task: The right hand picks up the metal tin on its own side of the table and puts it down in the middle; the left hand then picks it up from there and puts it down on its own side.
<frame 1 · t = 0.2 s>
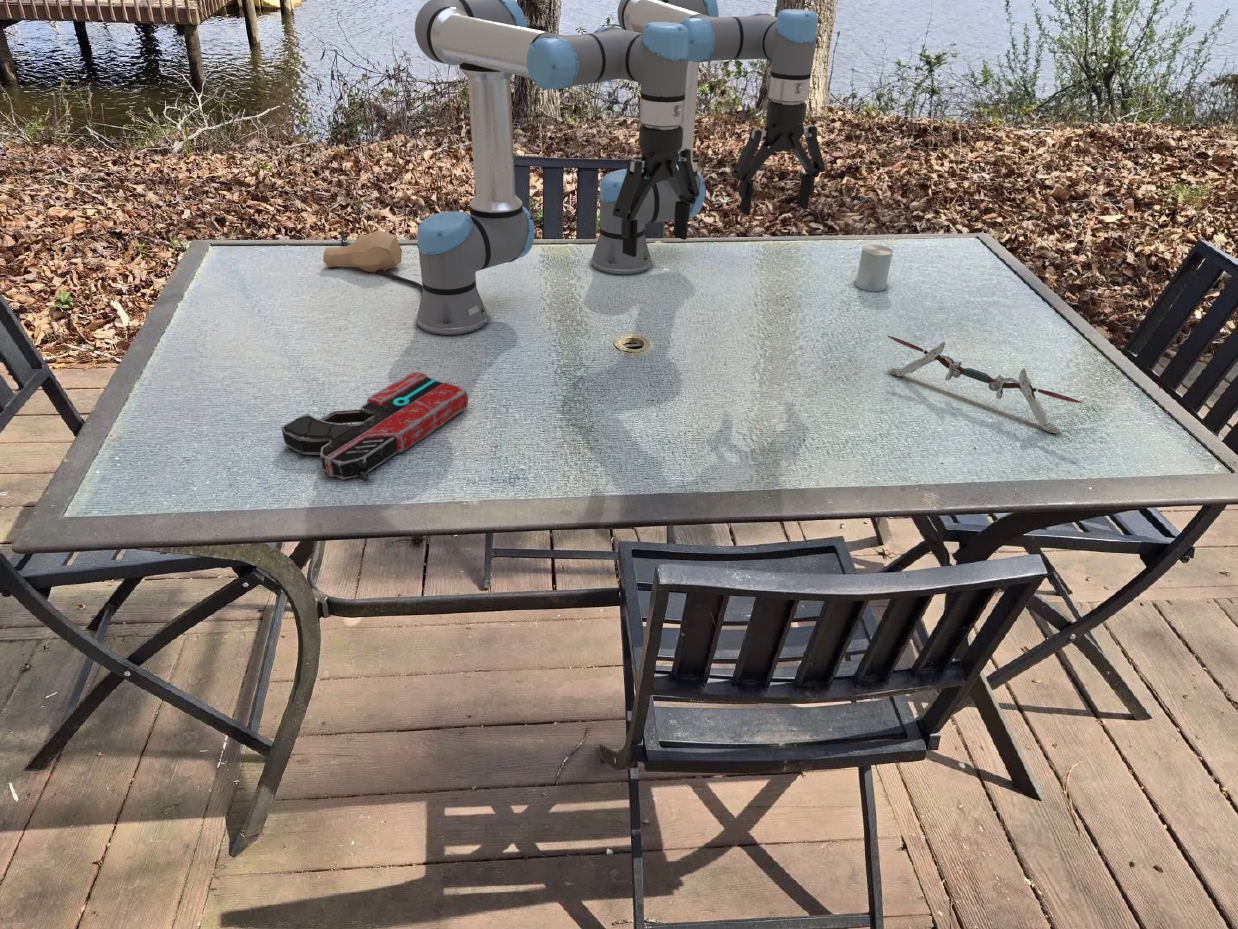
left hand: (655, 245, 161), 28 cm above the table, tool pointing down, fingers open, 13 cm apart
right hand: (774, 210, 180), 28 cm above the table, tool pointing down, fingers open, 13 cm apart
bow: (969, 401, 172), on the table
squash: (364, 267, 222), on the table
tin: (870, 285, 221), on the table
gun: (379, 430, 158), on the table
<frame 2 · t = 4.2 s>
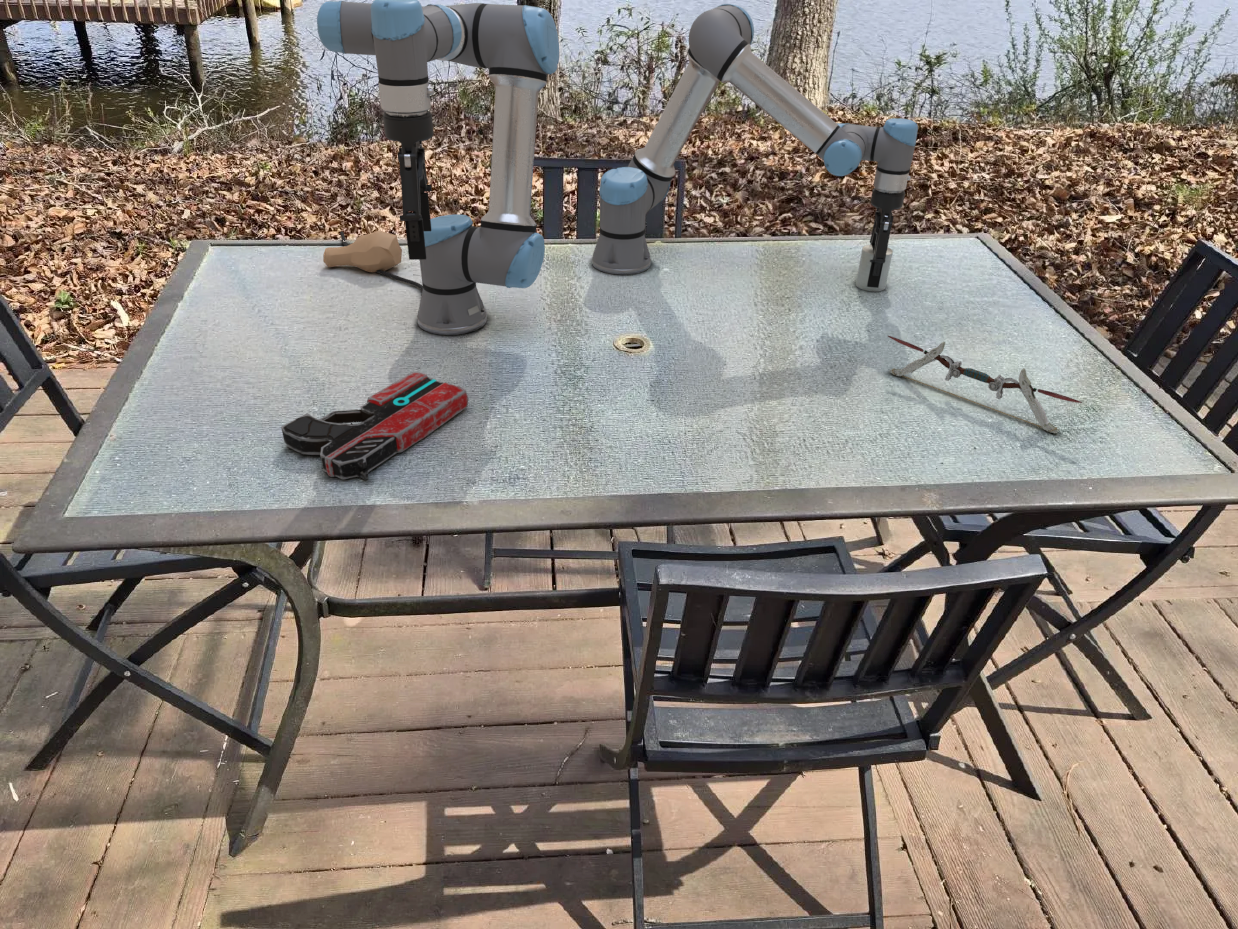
left hand: (420, 244, 148), 32 cm above the table, tool pointing down, fingers open, 13 cm apart
right hand: (871, 280, 220), 1 cm above the table, tool pointing down, fingers closed on tin, 7 cm apart
tin: (870, 285, 221), on the table, touching right hand
everything else where it was.
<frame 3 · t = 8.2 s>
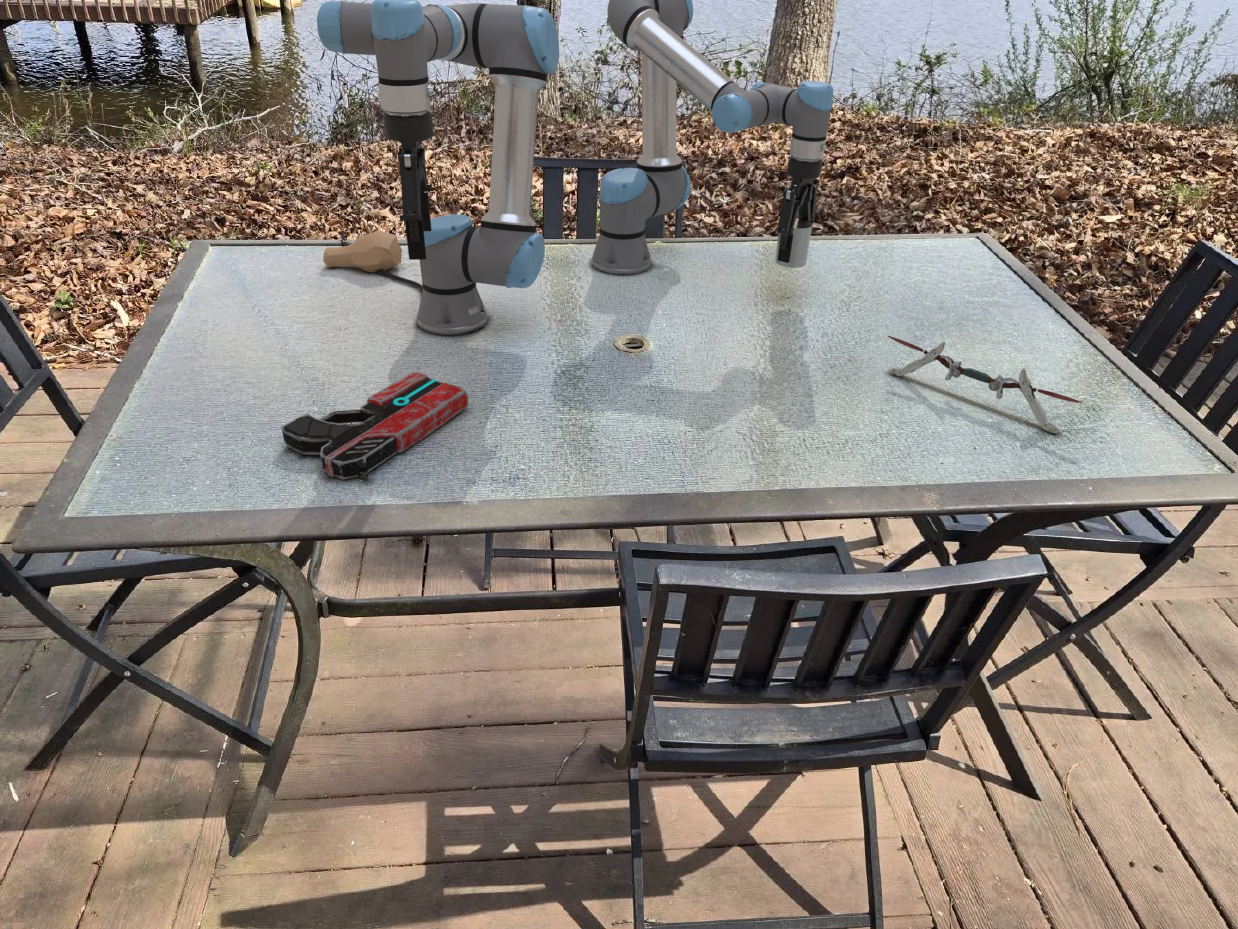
left hand: (420, 244, 148), 32 cm above the table, tool pointing down, fingers open, 13 cm apart
right hand: (791, 256, 207), 11 cm above the table, tool pointing down, fingers closed on tin, 7 cm apart
tin: (790, 261, 208), point 9 cm above the table, touching right hand
everything else where it was.
when the right hand's fingers open (3 cm above the table, at t = 12.3 s): tin drops 2 cm, on the table.
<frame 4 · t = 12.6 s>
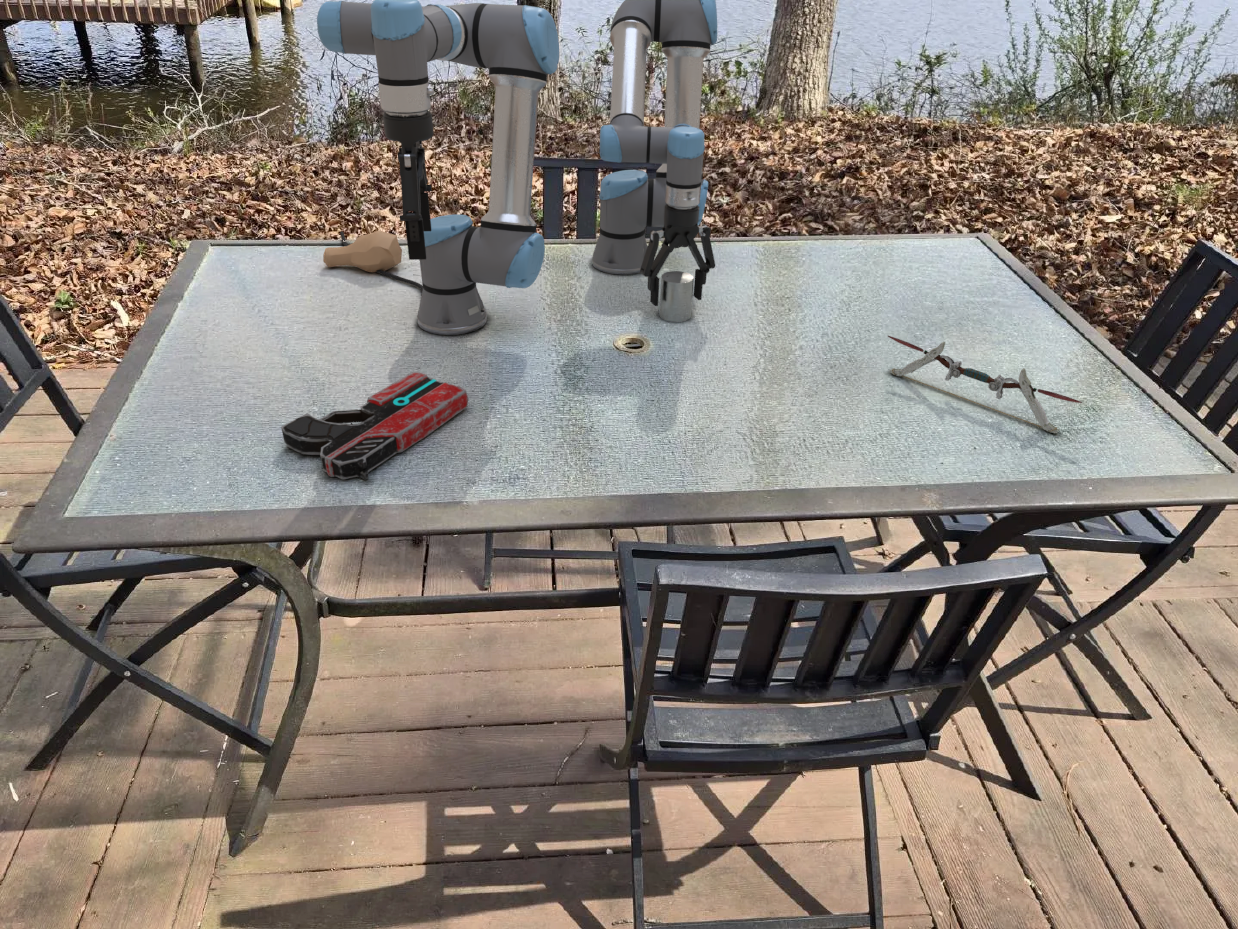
left hand: (420, 244, 148), 32 cm above the table, tool pointing down, fingers open, 13 cm apart
right hand: (675, 300, 201), 4 cm above the table, tool pointing down, fingers open, 10 cm apart
tin: (675, 315, 203), on the table
everything else where it was.
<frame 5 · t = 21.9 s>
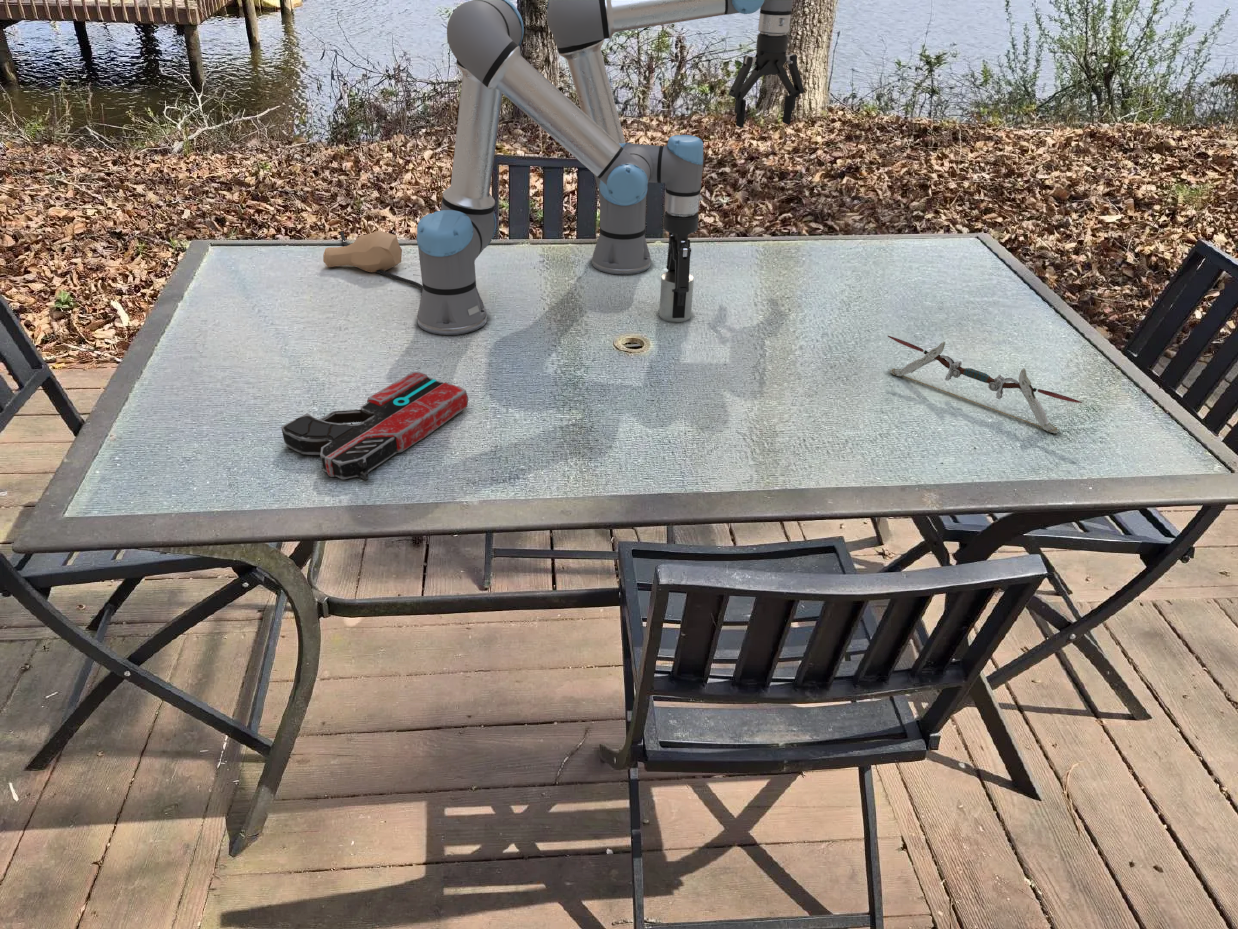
left hand: (675, 309, 202), 1 cm above the table, tool pointing down, fingers closed on tin, 7 cm apart
right hand: (763, 124, 224), 32 cm above the table, tool pointing down, fingers open, 13 cm apart
tin: (675, 315, 203), on the table, touching left hand
everything else where it was.
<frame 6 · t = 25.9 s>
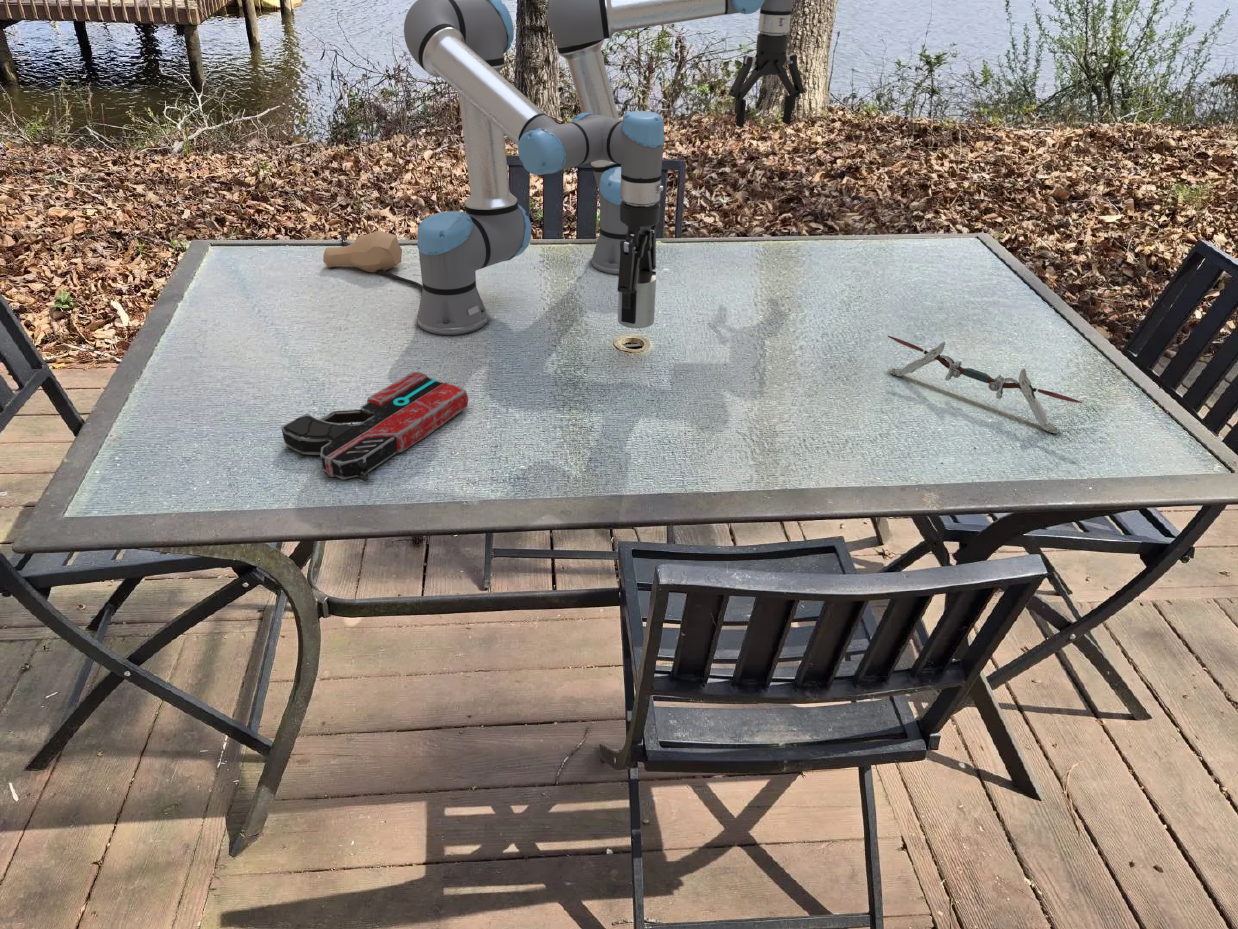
left hand: (635, 314, 176), 11 cm above the table, tool pointing down, fingers closed on tin, 7 cm apart
right hand: (763, 124, 224), 32 cm above the table, tool pointing down, fingers open, 13 cm apart
tin: (635, 320, 177), point 10 cm above the table, touching left hand
everything else where it was.
when the left hand's fingers open (3 cm above the table, at t = 30.4 s): tin drops 1 cm, on the table.
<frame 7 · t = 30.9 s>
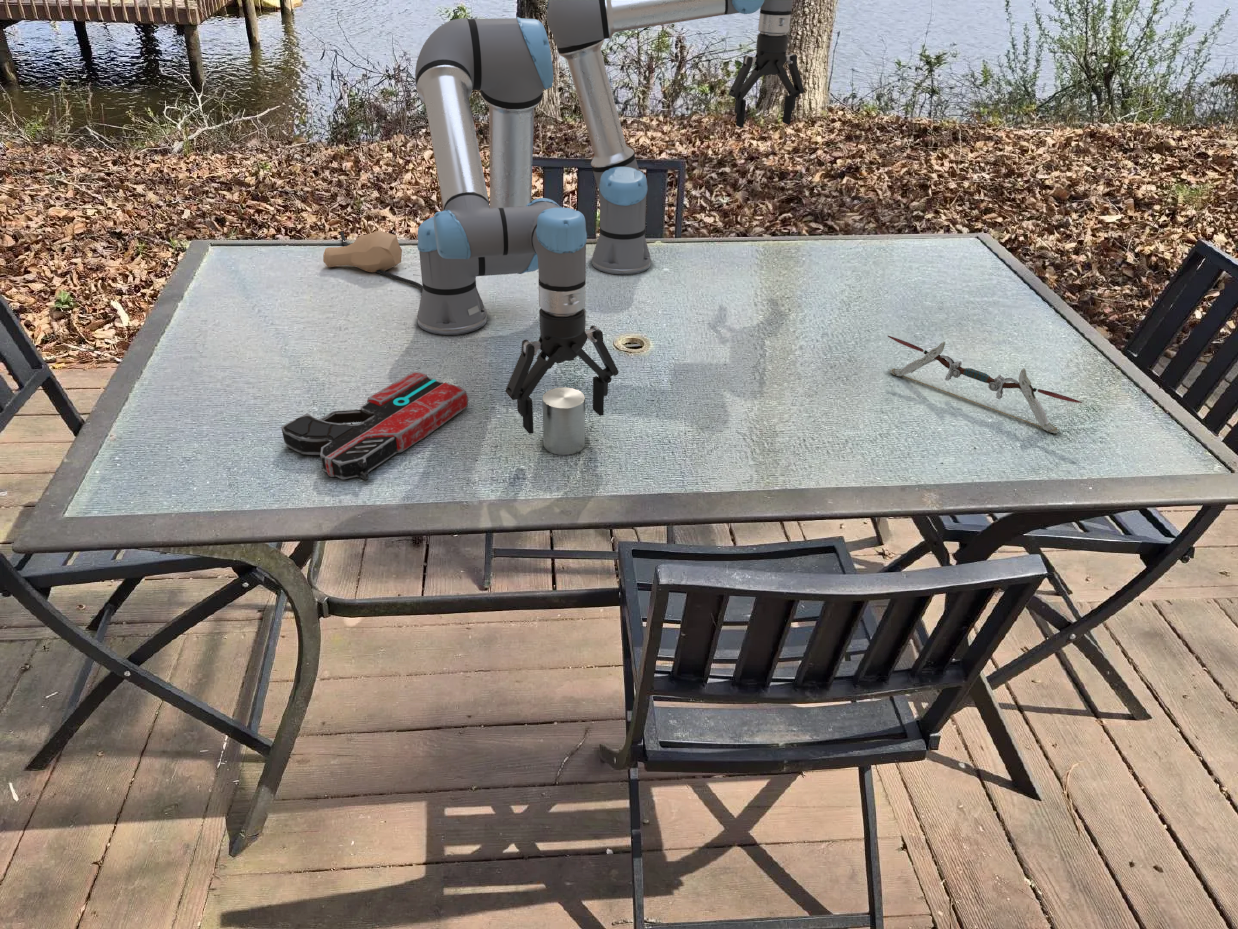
left hand: (563, 421, 153), 5 cm above the table, tool pointing down, fingers open, 13 cm apart
right hand: (763, 124, 224), 32 cm above the table, tool pointing down, fingers open, 13 cm apart
tin: (564, 443, 156), on the table
everything else where it was.
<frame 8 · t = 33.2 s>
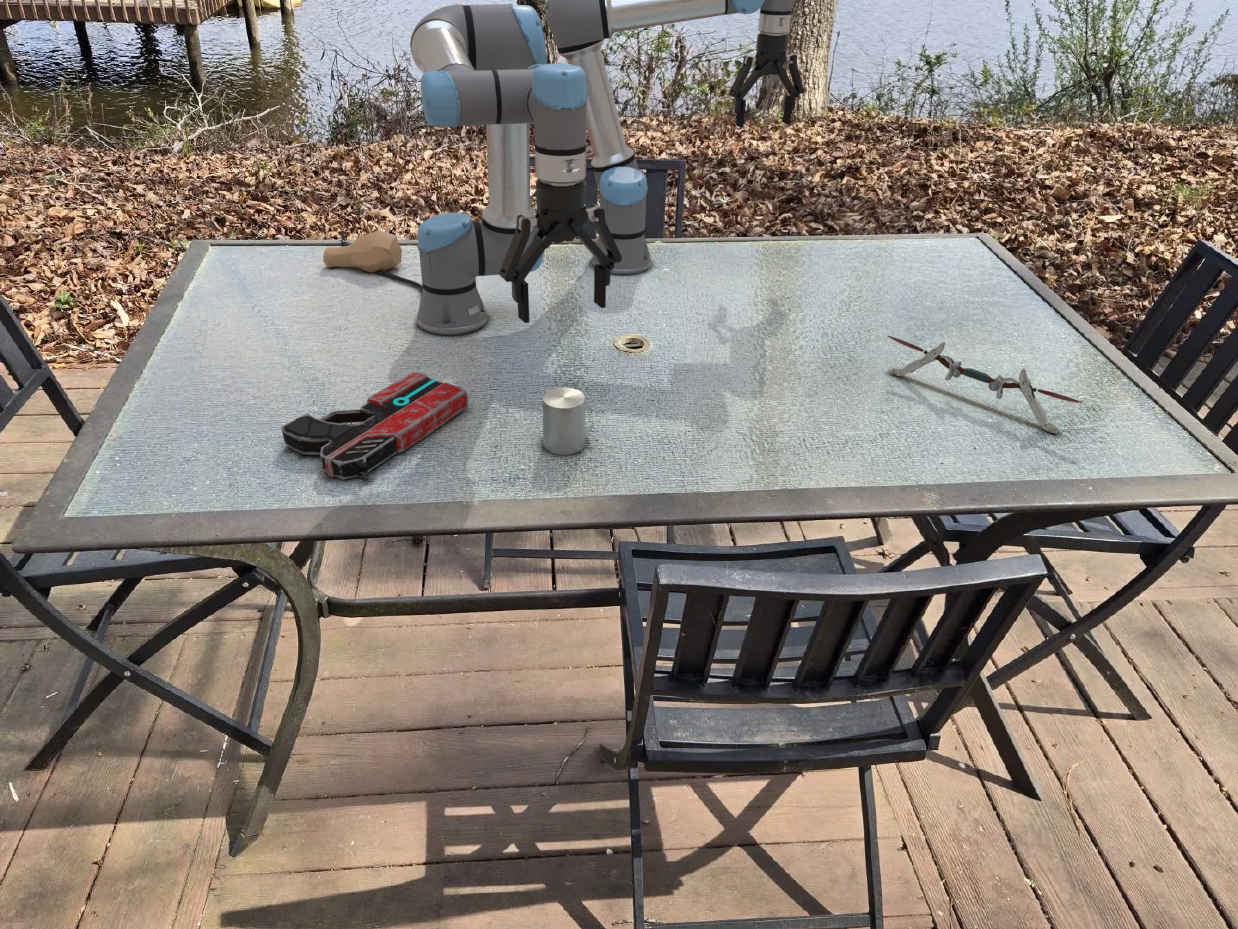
left hand: (562, 312, 142), 25 cm above the table, tool pointing down, fingers open, 13 cm apart
right hand: (763, 124, 224), 32 cm above the table, tool pointing down, fingers open, 13 cm apart
nothing on the table moved.
at the end: tin inside the target area (0.0 cm from its centre), on the table; tin tilted 0°; the two hands never held the tin at the same time; the left hand is holding nothing; the right hand is holding nothing; tin at rest at the end (0.0 cm/s) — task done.
